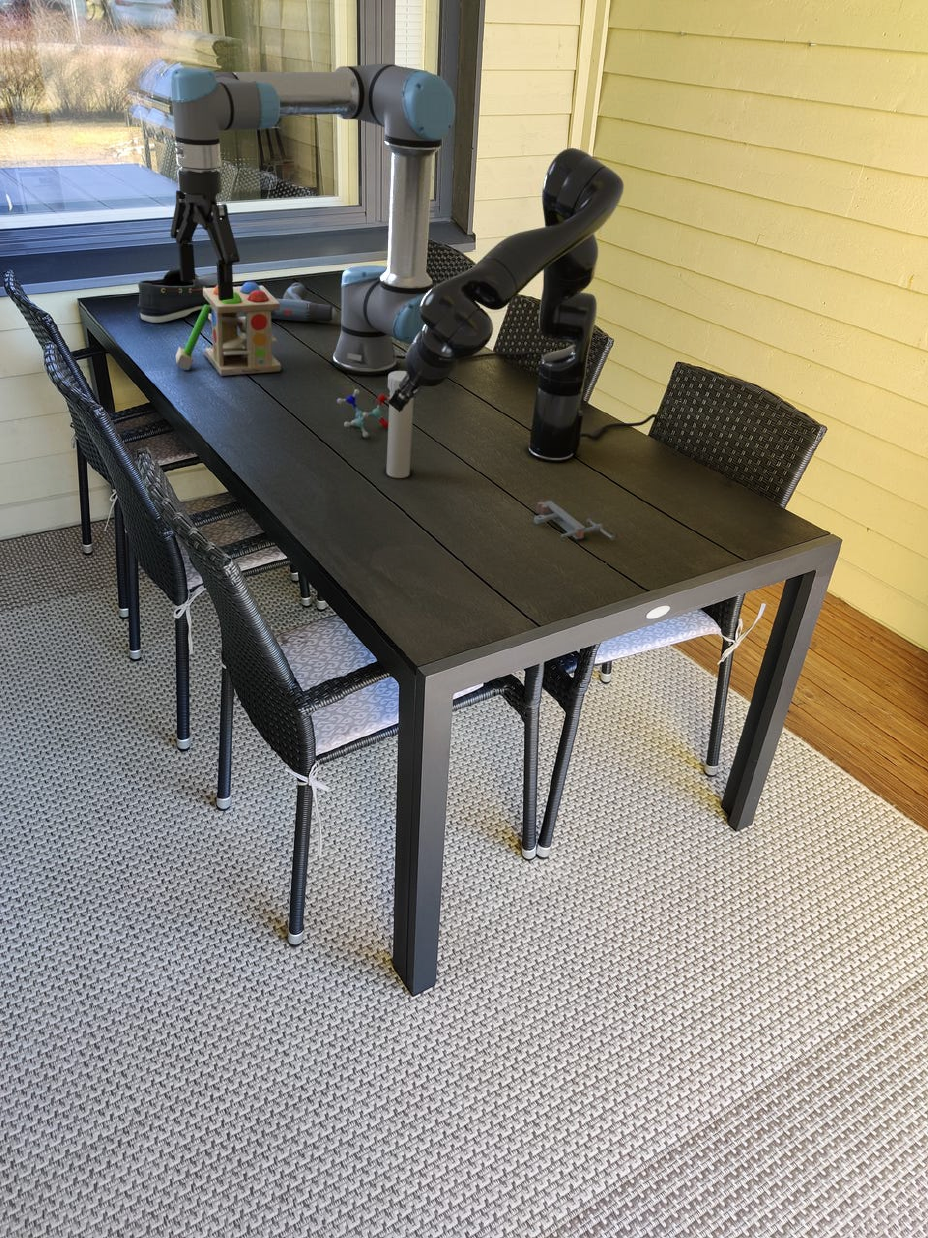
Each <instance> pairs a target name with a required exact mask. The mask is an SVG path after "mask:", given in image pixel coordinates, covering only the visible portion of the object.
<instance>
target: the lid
mask: <svg viewBox="0 0 928 1238" xmlns="http://www.w3.org/2000/svg"><path fill="white" fill-rule="evenodd" d="M406 372H407V370H393V371H391V372H389V373H388V376H387V389H388V390H389V391H390V390H391V391H393V392H395V390H396V389H398V388H399V389H400V387H399V384H400V382H401V381H402V380H403V378H404V377H405V376H406ZM402 391H403V390H402Z"/></svg>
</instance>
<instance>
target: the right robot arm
mask: <svg viewBox="0 0 928 1238" xmlns="http://www.w3.org/2000/svg"><path fill="white" fill-rule="evenodd" d="M624 189H625V184H624V180H623V179H622V177H621V176H619V175H618V173H616V172H615V171H614V170H612V169H611V168H609V167H608V166H606V164H603V163H602V162H600V161H599V160H598V159H596V158H595V157H593V156H592V155H590V154H589V153H587V152H586V151H584V150H581V149H579V148H575V147H568V148H565V149H564V150H562V151H560V152H559V153H558V154H557V155H556V156H555V157H554V158H553V159H552V161H551V163H550V165H549V166H548V168H547V171H546V173H545V177H544V180H543V184H542V191H541V192H542V193H541V202H542V203H541V204H542V212H543V217H544V218H543V219H544V220H543V221H544V226H543V227H538V228H534V229H529V230H525V231H520V232H517V233H514V234H512V235H509V236H507V237H505V238H504V239H502V240H501V241H499V242H498V243H497V244H496V245H494V246H493V248H491V249H490V250H489V251H488V252H487V253H486V254H485V255H484V256H483V257H482V258H481V259H480V260H479V261H478V262H477V263H476V264H474V265H473V266H472V267H470V268H469V269H467V270H465V271H464V272H462V273H460V274H457V275H454V276H452V277H450V278H448V279H446V280H443V281H442V282H440V283H438V284H436V285H434V286H432V289H431V290H429V291H428V292H427V294H426V295H425V296H424V298H423V299H422V302H421V305H420V317H421V319H422V321H423V322H424V323H425V325H424V326H423V328H422V330H421V331H420V332H419V333H418V334H417V336H416V337H415V339H414V341H413V342H412V344H410V346H409V348H408V350H407V352H406V353H405V356H406V357H405V359H404V366H405V371H407V372H406V376H405V377H404V378H403V380H402V381H401V382H400V384H399V387H400V389H399V388H398V389H396V390H395V393H394V395H393V396H392V398H391V399H390V400H388V403H387V404H388V405H389V404H390V405H391V406H393V407H394V408H395V409H396V410H398V412H400V411H402V410H403V408H404V407H405V405H406V404H408V403H409V400H410V399H411V398H414V399H416V397H418V395H419V394H420V393H421V391H422V390H423V389H425V388H426V387H427V388H429V387H436V386H439V385H441V384H443V383H444V382H445V381H446V380H447V379H448V377H449V376H450V375H451V373H452V372H453V370H455V368H456V366H457V365H458V364H459V362H460V361H459V359H464V358H467V357H470V356H472V355H477V353H479V352H480V351H482V350H483V349H484V348H485V347H486V346H487V345H488V343H489V342H490V340H491V338H492V336H493V332H494V323H493V319H492V318H491V316H490V315H489V314H488V312H486V311H485V309H483V307H485V308H486V309H489V310H492V311H499V310H502V309H504V308H505V307H507V306H508V305H509V304H510V303H511V302H512V300H514V299H515V298H516V297H517V296H518V294H520V292H522V290H523V289H524V288H525V287H527V286H528V285H529V284H530V282H532V280H533V279H535V277H537V276H538V275H540V273H541V272H542V273H543V274H542V276H543V277H542V292H541V298H540V303H539V310H538V329H539V332H540V334H541V335H542V336H543V337H545V338H546V339H550V340H555V341H556V340H557V341H565V342H573V343H572V344H571V345H570V346H568V347H566V348H563V349H559V350H556V351H551V352H548V353H546V354H543V355H544V356H543V357H541V358H540V362H539V369H538V376H537V383H536V384H537V385H536V391H535V392H536V393H535V400H534V406H533V407H534V408H533V413H532V423H531V428H530V432H529V435H530V438H529V444H528V448H527V450H528V453H529V454H530V455H531V456H532V457H534V458H536V459H538V460H541V461H544V462H550V463H551V462H552V463H561V462H562V463H563V462H567V461H569V460H571V459H572V458H574V457H577V455H578V450H579V448H580V444H581V438H589V439H594V440H595V439H597V438H598V437H599V436H600V435H601V434H602V433H603V432H604V431H605V430H607V429H610V428H619V427H620V428H621V427H627V428H628V427H639V426H643V425H645V424H646V423H648V422H650V421H651V420H652V419H654V418H655V419H656V417H657V416H658V415H657V413H652V414H651V415H649V416H648V417H646V418H645V419H644V420H641V421H637V422H621V423H620V422H618V423H617V422H616V423H609V424H606V425H604V426H602V427H601V428H600V429H598V431H596V433H595V434H591V433H583V432H581V430H582V424H583V418H584V413H583V411H581V406H582V397H583V391H584V386H585V378H586V373H587V366H588V358H589V352H590V347H591V342H592V338H593V332H594V330H595V329H594V328H595V324H596V319H597V313H598V312H597V311H598V302H597V297H596V296H595V295H594V294H593V293H588V292H583V291H584V290H585V289H587V287H589V286H590V284H591V283H592V281H593V280H594V277H595V276H596V271H597V266H598V261H599V260H598V259H599V244H598V241H597V237H596V235H595V234H596V232H598V231H599V230H600V229H602V227H603V226H604V225H606V223H607V222H608V221H609V220H610V219H611V217H612V216H613V215H614V214H615V211H616V210H617V209H618V207H619V205H620V203H621V200H622V198H623V194H624ZM481 306H482V307H481ZM402 390H403V391H402ZM407 394H409V396H408V395H407Z"/></svg>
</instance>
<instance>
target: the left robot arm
mask: <svg viewBox="0 0 928 1238" xmlns="http://www.w3.org/2000/svg"><path fill="white" fill-rule="evenodd" d="M170 77H171V80H170V81H171V82H170V91H171V92H170V93H171V94H170V100H171V102H172V116H173V125H174V126H173V128H174V140H175V149H174V152H175V154H176V164H177V165H178V166H179V168H178V169H177V182H178V184H177V185H178V189H176V191H175V206H174V212H173V217H172V223H171V227H170V238H172V239H175V243H176V244H177V246H178V258H179V267H180V273H181V281H189V280H196V278H195V274H196V267H195V266H196V265H195V251H194V244H193V243H194V239H193V237H194V234H195V232H196V230H197V228H198V225H200V226H201V228H202V229H203V230H204V231H206V233H207V235H208V238H209V240H210V243H211V245H212V247H213V250H214V253H215V255H216V257H217V259H218V260H217V262H215V264H216V273H217V280H218V297H219V300H220V301H222V300H228V299H234V298H233V287H234V282H233V281H234V275H233V274H234V272H233V271H234V270H233V264H235V263H239V262H240V259H241V258H240V254H239V251H238V248H237V244H236V241H235V237H234V234H233V230H232V226H231V222H230V218H229V210H228V205H227V204H226V203H222V204H221V203H219V204H218V202H217V195H219V194H221V193H222V191H223V185H222V183H223V182H222V172H221V170H220V167H221V166H222V161H221V145H220V131H237V130H238V131H239V130H240V131H241V130H242V131H243V130H246V131H247V130H257V131H260V130H264V129H271V128H274V127H275V126H276V125H277V124H278V122H279V120H280V117H281V116H318V115H319V116H320V115H321V116H322V115H337V117H339V118H340V119H342V120H356V121H362V122H366V123H370V124H373V125H377V126H380V127H383V128H384V144H385V145H386V146H387V148H389V150H390V152H391V159H390V160H391V161H390V162H391V163H390V187H389V189H390V190H389V211H388V213H389V215H388V217H389V218H388V243H387V266H386V265H374V264H372V265H371V264H370V265H369V264H368V265H357V266H356V265H355V266H351V267H348V268H346V269H345V270H344V271H343V273H342V277H341V278H342V279H341V285H340V288H341V316H340V317H341V319H340V321H341V324H340V325H341V326H340V329H341V330H340V336H339V338H338V341H337V344H336V348H335V350H334V352H333V354H332V355H333V361H332V362H333V363H332V364H333V366H334V367H335V368H337V369H338V370H339V371H342V372H344V373H347V374H352V375H356V376H380V375H381V376H382V375H386V374H390V373H391V372H394V371H395V369H396V368H397V361H398V360H399V359H401V360H405V357H406V355H399V354H396V352H395V347H394V343H393V341H392V338H393V339H395V340H396V341H399V342H400V343H401V342H402V343H406V344H409V345H411V344H412V342H413V341H414V339H415V337H416V336H417V334H418V333H419V332H420V331H421V330H422V328H423V326H424V325H425V323H424V322H423V321H422V319H421V317H420V305H421V302H422V299H423V298H424V296H425V295H426V294H427V292H428V291H429V290H431V289H432V288H433V279H432V278H431V277H430V275H429V274H428V273H427V263H428V260H427V259H428V245H429V231H430V230H429V228H430V212H431V197H432V183H433V182H432V179H433V165H434V164H433V163H434V155H435V154H436V153H437V152H438V151H439V150H440V149H441V147H442V140H443V138H445V137H446V136H447V135H448V133H450V130H449V129H451V128H452V127H453V125H454V121H455V116H456V104H455V103H456V102H455V97H454V94H453V92H452V89H451V87H450V86H449V85H448V83H447V82H446V81H445V79H444V78H442V77H441V76H440V75H438V74H435V73H431V72H429V71H428V70H424V69H419V68H418V69H417V68H413V67H406V66H401V65H397V64H394V63H375V64H374V63H373V64H363V65H349V66H348V65H342V66H338V67H337V68H336V69H335V70H334V71H230V72H229V71H213V70H211V69H207V68H201V67H200V68H199V67H186V66H185V67H177V68H175V69H173V71H172V73H171V76H170ZM528 352H529V351H525V352H489V353H480V354H474V355H472V356H470V357H467V358H464V359H459V361H458V362H462V361H467V360H471V359H479V358H485V357H496V356H497V357H499V356H501V357H502V356H503V357H504V356H506V357H508V356H509V357H523V356H529V355H536V354H535V353H528Z"/></svg>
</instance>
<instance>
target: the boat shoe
mask: <svg viewBox="0 0 928 1238" xmlns="http://www.w3.org/2000/svg"><path fill="white" fill-rule="evenodd" d="M195 278H196V280H189V281H181V273H180V266H176V267H173V268H171V269H170V270H168V271H167V272H166V273H165V274H164V276H163V277H162V278H158V279H143V280H139V281H138V282H137V285H138V286H137V287H138V293H139V294H138V295H139V296H138V301H139V302H138V303H137V307H139V308H140V319H141V320H143V321H145V322H148V323H152V324H158V323H160V324H161V323H166V322H170V321H173V320H177V319H181V318H184V317H187V316H188V315H190V314H191V313H193V312H196V311H199V310H202V309H203V307H204V305H208V306H210V307H211V305H210V304H209V302H208V301H207V300H206V299H205V297H204V296H203V289H204V288H215V287H216V286H217V285H218V280H217V272H211V273H205V274H201V275H198V274H197V273H195Z"/></svg>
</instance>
